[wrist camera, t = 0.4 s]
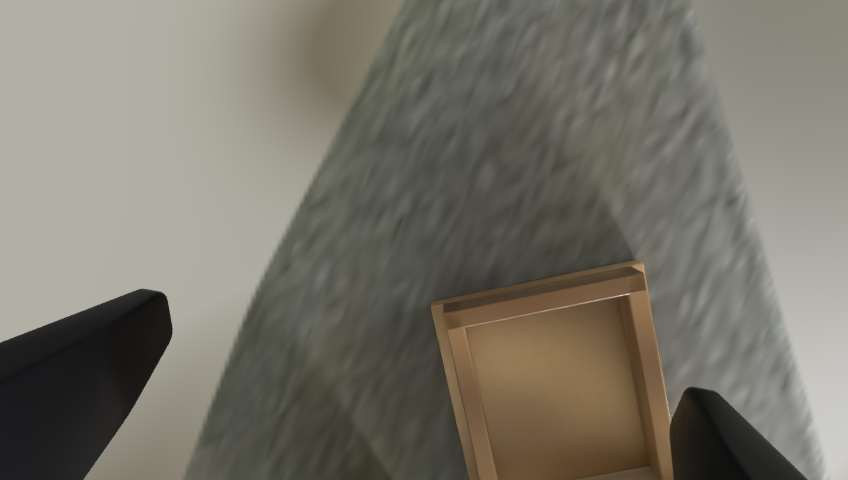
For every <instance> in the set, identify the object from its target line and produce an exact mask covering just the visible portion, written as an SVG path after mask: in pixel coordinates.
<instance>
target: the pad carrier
mask: <svg viewBox="0 0 848 480" xmlns="http://www.w3.org/2000/svg"><path fill="white" fill-rule="evenodd" d="M431 311H432V316H433V320H434V324H435V329H436V333H437V338H438V342H439V347H440V351H441V356H442V360H443V365H444V369H445V374H446V378H447V383H448V387H449V392H450V396H451V401H452V405H453V410H454V414H455V419H456V423H457V428H458V432H459V436H460V441H461V445H462V450H463V454H464V459H465V463H466V468H467V472H468V477H469V480H674V477H673V468H672V458H671V448H670V438H669V429H670V423H671V419H670V413H669V407H668V402H667V396H666V390H665V385H664V379H663V373H662V368H661V362H660V356H659V351H658V345H657V339H656V334H655V328H654V322H653V317H652V311H651V305H650V300H649V294H648V288H647V283H646V277H645V271H644V265H643V263H642V262H639V261H637V260H633V261H628V262H623V263H618V264H613V265H608V266H604V267H599V268H594V269H589V270H584V271H579V272H574V273H569V274H565V275H560V276H555V277H550V278H545V279H540V280H535V281H531V282H526V283H521V284H516V285H511V286H506V287H501V288H497V289H492V290H487V291H482V292H477V293H472V294H467V295H462V296H458V297H453V298H448V299H443V300H438V301H433V302H431Z"/></svg>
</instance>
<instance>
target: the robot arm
mask: <svg viewBox="0 0 848 480" xmlns="http://www.w3.org/2000/svg"><path fill="white" fill-rule="evenodd" d="M171 337H172V323H171V317H170V311H169V306H168V300H167V297H166V296H165V294H163V293H162V292H159V291H153V290H148V289H139V290H136V291H133V292H131V293H128V294H126V295H124V296H120V297H118V298H116V299H113V300H110V301H107V302H105V303H102V304H100V305H97V306H94V307H92V308H89V309H87V310H84V311H82V312H79V313H77V314H74V315H71V316H69V317H66V318H64V319H61V320H58V321H55V322H53V323H50V324H48V325H45V326H43V327H40V328H37V329H35V330H32V331H29V332H27V333H24V334H22V335H19V336H17V337H14V338H11V339H9V340H6V341H3V342H1V343H0V480H83V479H84V478H85V476H86V475H87V474H88V472H89V471H90V469H91V468H92V466H93V465H94V463H95V462H96V461H97V459H98V458H99V456H100V455H101V454H102V452H103V451H104V449H105V448H106V447H107V445H108V444H109V442H110V441H111V439H112V438H113V437H114V435H115V434H116V432H117V431H118V429H119V428H120V427H121V425H122V424H123V422H124V421H125V419H126V418H127V416H128V415H129V413H130V411H131V410H132V408H133V406H134V405H135V403H136V401H137V400H138V398H139V396H140V394H141V392H142V391H143V389H144V387H145V385H146V384H147V382H148V380H149V378H150V376H151V375H152V373H153V371H154V369H155V367H156V366H157V364H158V362H159V360H160V358H161V357H162V355H163V353H164V351H165V350H166V348H167V346H168V344H169V342H170V340H171ZM669 438H670V448H671V458H672V468H673V477H674V480H808V479H807V478H806V477H805V476H804V475H802V474H801V473H800V472H799V471H798V470H797V469H796V468H795V467H794V466H793V465H792V464H791V463H790V462H789V461H788V460H787V459H786V458H785V457H784V456H783V455H782V454H781V453H780V452H779V451H778V450H776V449H775V448H774V447H773V446H772V445H771V444H770V443H769V442H768V441H767V440H766V439H765V438H764V437H763V436H762V435H761V434H760V433H759V432H758V431H757V430H756V429H755V428H754V427H753V426H752V425H751V424H749V423H748V422H747V421H746V420H745V419H744V418H743V417H742V416H741V415H740V414H739V413H738V412H737V411H736V410H735V409H734V408H733V407H732V406H731V405H730V404H729V403H728V402H727V401H726V400H725V399H723V398H722V397H721V396H720V395H719V394H718V393H717V392H715V391H713V390H708V389H703V388H697V387H689V388H687V389H686V390H685V391H684V393H683V395H682V397H681V400H680V402H679V404H678V407H677V409H676V411H675V413H674V416H673V418H672V420H671V423H670V429H669Z"/></svg>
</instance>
